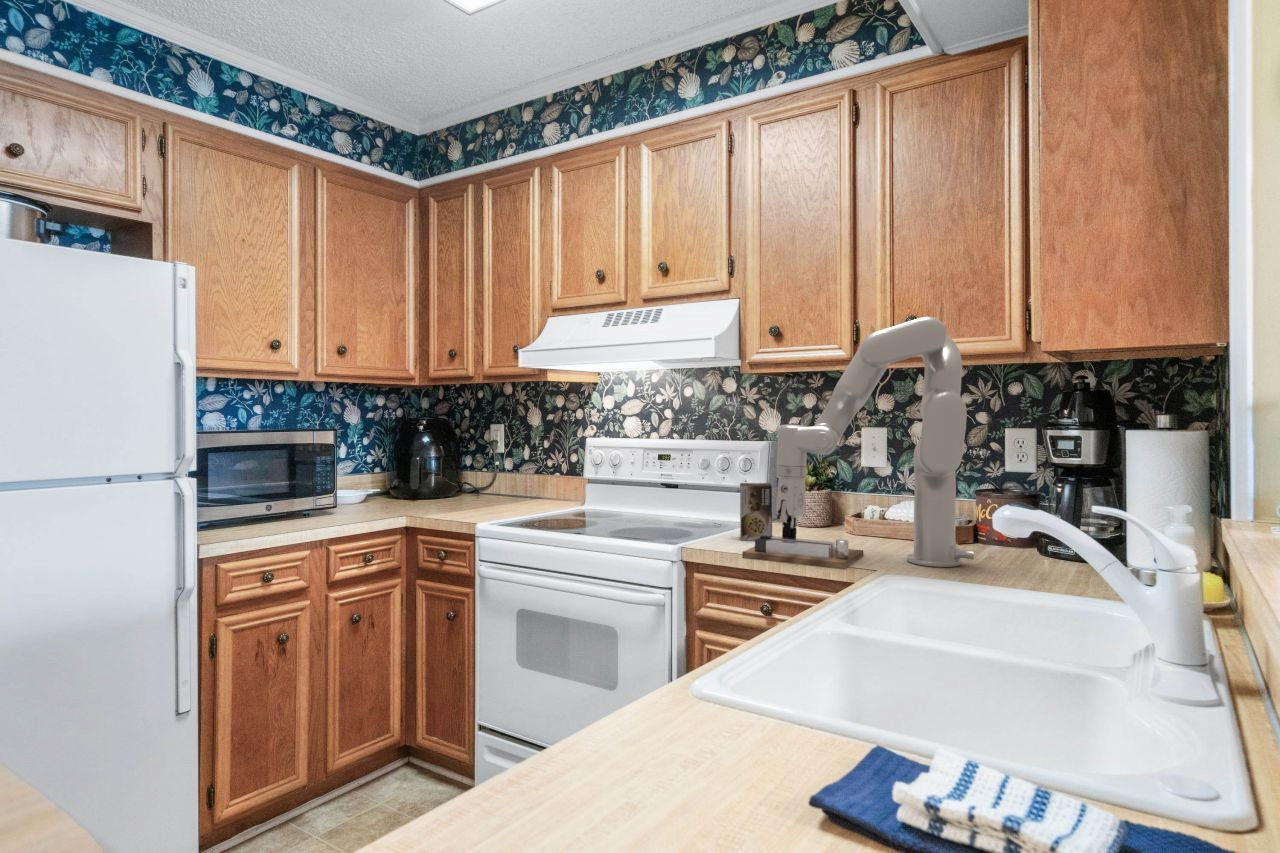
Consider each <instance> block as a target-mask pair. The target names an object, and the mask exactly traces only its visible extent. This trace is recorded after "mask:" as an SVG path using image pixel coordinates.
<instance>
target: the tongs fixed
mask: <svg viewBox="0 0 1280 853" xmlns="http://www.w3.org/2000/svg"><path fill="white" fill-rule="evenodd" d="M754 547H755V551H756V552H765V553H775V554H784V555H794V556H803V557H812V558H822V559H830V558H831V545H823V544H812V543H802V542H792V541H781V540H771V539H761V538H758V539H755V541H754ZM835 548H836V559H842V560H845V559H848V549H849V539H843V538H841V539H840V538H839V539H838V538H837V539H835Z"/></svg>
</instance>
